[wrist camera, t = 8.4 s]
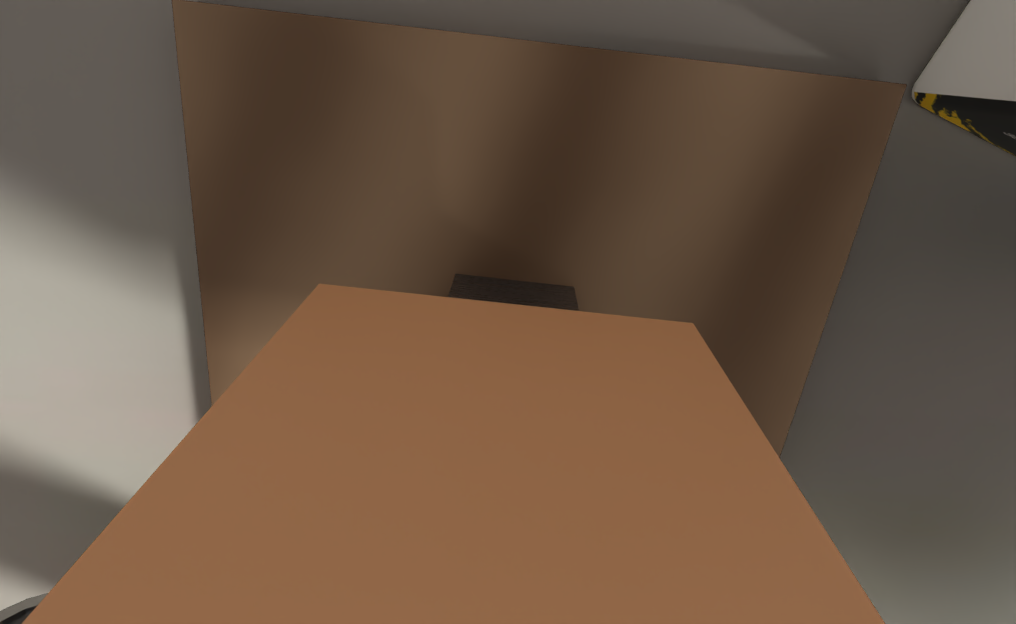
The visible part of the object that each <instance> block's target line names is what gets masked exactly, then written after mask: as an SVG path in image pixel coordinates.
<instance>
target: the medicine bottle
mask: <svg viewBox="0 0 1016 624" xmlns="http://www.w3.org/2000/svg"><path fill="white" fill-rule="evenodd" d="M912 98H913V100H914V101H915V102H916V103H917V104H919V105H920V106H922V107H923V108H925V109H927V110H929V111H931V112H933V113H935V114H937V115H939V116H940V117H942V118H944V119H946V120H948V121H950V122H952V123H954V124H956V125H958V126H959V127H961V128H963V129H965V130H967V131H969V132H971V133H973V134H975V135H976V136H978V137H980V138H982V139H984V140H986V141H988V142H990V143H992V144H993V145H995V146H997V147H999V148H1001V149H1003V150H1005V151H1007V152H1009V153H1010V154H1012V155H1014V156H1016V0H970V2H969V3H968V5H967V6H966V8H965V9H964V11H963V12H962V14H961V15H960V17H959V18H958V20H957V21H956V23H955V24H954V26H953V27H952V29H951V30H950V32H949V33H948V35H947V36H946V38H945V39H944V41H943V42H942V43H941V45H940V46H939V48H938V49H937V51H936V52H935V54H934V55H933V57H932V58H931V60H930V61H929V63H928V64H927V66H926V67H925V69H924V70H923V72H922V73H921V75H920V76H919V78H918V79H917V81H916V82H915V84H914V86H913V89H912Z"/></svg>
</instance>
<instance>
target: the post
mask: <svg viewBox="0 0 1016 624" xmlns="http://www.w3.org/2000/svg"><path fill="white" fill-rule="evenodd" d="M448 297H451V298H460V299H470V300H479V301H489V302H498V303H507V304H517V305H526V306H536V307H545V308H555V309H564V310H574V311H579V308H578V303H577V298H576V294H575V289H574V287H573V286H564V285H555V284H546V283H536V282H527V281H518V280H509V279H500V278H491V277H482V276H473V275H463V274H455V277H454V280H453V283H452V286H451V289H450V292H449V295H448Z"/></svg>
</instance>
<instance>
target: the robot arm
mask: <svg viewBox="0 0 1016 624" xmlns="http://www.w3.org/2000/svg"><path fill="white" fill-rule="evenodd" d="M47 594H48V593H46V594H42V595H39V596H35V597H31V598H28V599H25V600H23V601H21V602H19V603H16V604H14V605H12V606H10V607H8V608H5V609H3V610H2V611H0V624H22V623H23V622H24V620H25V619H26V618H27V617H28V616H29V615H30V614H31V612H32V611H33V610H34V609H35V608H36V607H37V606H38V604H39V603H40V602H41V601H42V600H43V599H44V598H45V596H46V595H47Z"/></svg>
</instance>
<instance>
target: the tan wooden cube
mask: <svg viewBox="0 0 1016 624" xmlns="http://www.w3.org/2000/svg"><path fill="white" fill-rule="evenodd" d="M22 624H885V623H884V621H883V620H882V618H881V616H880V615H879V613H878V612H877V610H876V609H875V607H874V606H873V604H872V602H871V601H870V599H869V598H868V596H867V595H866V593H865V591H864V590H863V588H862V587H861V585H860V584H859V582H858V580H857V579H856V577H855V576H854V574H853V573H852V571H851V570H850V568H849V566H848V565H847V563H846V562H845V560H844V559H843V557H842V555H841V554H840V552H839V551H838V549H837V548H836V546H835V544H834V543H833V541H832V540H831V538H830V537H829V535H828V534H827V532H826V530H825V529H824V527H823V526H822V524H821V523H820V521H819V519H818V518H817V516H816V515H815V513H814V512H813V510H812V508H811V507H810V505H809V504H808V502H807V501H806V499H805V498H804V496H803V494H802V493H801V491H800V490H799V488H798V487H797V485H796V483H795V482H794V480H793V479H792V477H791V476H790V474H789V472H788V471H787V469H786V468H785V466H784V465H783V463H782V462H781V460H780V458H779V457H778V455H777V454H776V452H775V451H774V449H773V447H772V446H771V444H770V443H769V441H768V440H767V438H766V436H765V435H764V433H763V432H762V430H761V429H760V427H759V426H758V424H757V422H756V421H755V419H754V418H753V416H752V415H751V413H750V411H749V410H748V408H747V407H746V405H745V404H744V402H743V400H742V399H741V397H740V396H739V394H738V393H737V391H736V390H735V388H734V386H733V385H732V383H731V382H730V380H729V379H728V377H727V375H726V374H725V372H724V371H723V369H722V368H721V366H720V364H719V363H718V361H717V360H716V358H715V357H714V355H713V354H712V352H711V350H710V349H709V347H708V346H707V344H706V343H705V341H704V339H703V338H702V336H701V335H700V333H699V332H698V330H697V329H696V327H695V325H694V324H693V323H687V322H677V321H668V320H659V319H649V318H640V317H630V316H621V315H611V314H602V313H592V312H583V311H574V310H564V309H555V308H545V307H536V306H526V305H517V304H507V303H498V302H489V301H479V300H470V299H460V298H451V297H441V296H432V295H422V294H413V293H404V292H394V291H385V290H375V289H366V288H356V287H347V286H337V285H328V284H318V285H317V287H316V288H315V289H314V290H313V291H312V292H311V293H310V295H309V296H308V297H307V298H306V299H305V300H304V301H303V303H302V304H301V305H300V306H299V307H298V308H297V309H296V311H295V312H294V313H293V314H292V315H291V316H290V317H289V319H288V320H287V321H286V322H285V323H284V324H283V326H282V327H281V328H280V329H279V330H278V331H277V332H276V334H275V335H274V336H273V337H272V338H271V339H270V340H269V342H268V343H267V344H266V345H265V346H264V347H263V348H262V350H261V351H260V352H259V353H258V354H257V355H256V356H255V358H254V359H253V360H252V361H251V362H250V363H249V364H248V366H247V367H246V368H245V369H244V370H243V371H242V372H241V374H240V375H239V376H238V377H237V378H236V379H235V380H234V382H233V383H232V384H231V385H230V386H229V387H228V388H227V390H226V391H225V392H224V393H223V394H222V395H221V396H220V398H219V399H218V400H217V401H216V402H215V403H214V404H213V406H212V407H211V408H210V409H209V410H208V411H207V412H206V414H205V415H204V416H203V417H202V418H201V419H200V420H199V422H198V423H197V424H196V425H195V426H194V427H193V428H192V430H191V431H190V432H189V433H188V434H187V435H186V436H185V438H184V439H183V440H182V441H181V442H180V443H179V444H178V446H177V447H176V448H175V449H174V450H173V451H172V452H171V454H170V455H169V456H168V457H167V458H166V459H165V460H164V462H163V463H162V464H161V465H160V466H159V467H158V468H157V470H156V471H155V472H154V473H153V474H152V475H151V476H150V478H149V479H148V480H147V481H146V482H145V483H144V484H143V486H142V487H141V488H140V489H139V490H138V491H137V492H136V494H135V495H134V496H133V497H132V498H131V499H130V500H129V502H128V503H127V504H126V505H125V506H124V507H123V508H122V510H121V511H120V512H119V513H118V514H117V515H116V516H115V518H114V519H113V520H112V521H111V522H110V523H109V524H108V526H107V527H106V528H105V529H104V530H103V531H102V532H101V534H100V535H99V536H98V537H97V538H96V539H95V540H94V542H93V543H92V544H91V545H90V546H89V547H88V548H87V550H86V551H85V552H84V553H83V554H82V555H81V556H80V558H79V559H78V560H77V561H76V562H75V563H74V564H73V566H72V567H71V568H70V569H69V570H68V571H67V572H66V574H65V575H64V576H63V577H62V578H61V579H60V580H59V582H58V583H57V584H56V585H55V586H54V587H53V588H52V590H51V591H50V592H49V593H48V594H47V595H46V596H45V598H44V599H43V600H42V601H41V602H40V603H39V604H38V606H37V607H36V608H35V609H34V610H33V611H32V612H31V614H30V615H29V616H28V617H27V618H26V619H25V620H24V622H23V623H22Z"/></svg>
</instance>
